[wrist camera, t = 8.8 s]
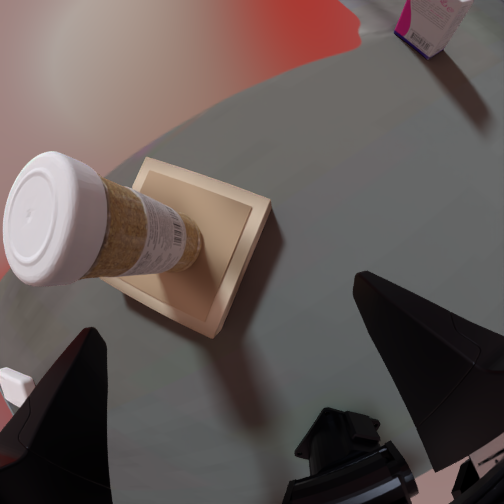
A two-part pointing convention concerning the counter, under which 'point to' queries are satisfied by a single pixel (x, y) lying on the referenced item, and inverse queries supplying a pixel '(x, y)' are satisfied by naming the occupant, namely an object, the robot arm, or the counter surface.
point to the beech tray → (212, 250)
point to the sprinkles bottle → (89, 227)
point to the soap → (15, 386)
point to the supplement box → (430, 23)
